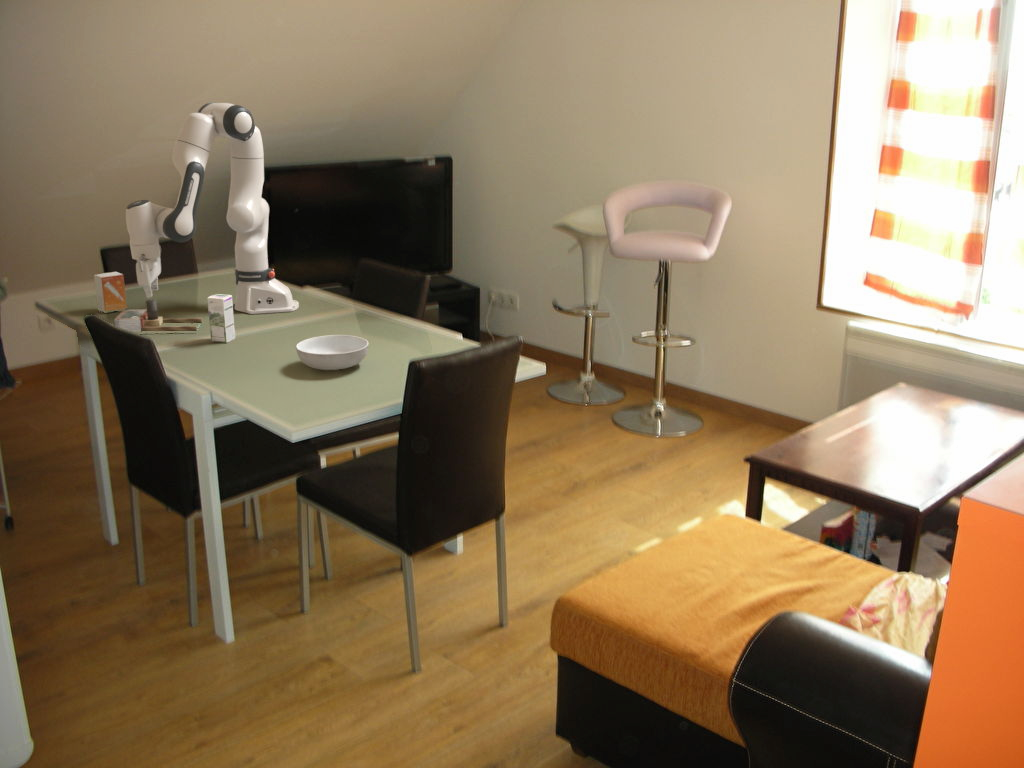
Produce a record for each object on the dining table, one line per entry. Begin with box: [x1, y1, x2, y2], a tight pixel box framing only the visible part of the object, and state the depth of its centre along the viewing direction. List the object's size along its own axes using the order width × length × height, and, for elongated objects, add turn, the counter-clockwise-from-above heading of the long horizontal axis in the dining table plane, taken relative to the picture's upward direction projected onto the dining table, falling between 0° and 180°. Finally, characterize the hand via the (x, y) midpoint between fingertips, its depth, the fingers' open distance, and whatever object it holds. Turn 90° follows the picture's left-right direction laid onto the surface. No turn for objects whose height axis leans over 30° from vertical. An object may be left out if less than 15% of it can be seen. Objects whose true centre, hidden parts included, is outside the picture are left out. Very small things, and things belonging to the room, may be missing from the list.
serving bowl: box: [295, 334, 370, 371], centre depth 306 cm, size 21×21×7 cm
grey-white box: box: [113, 308, 147, 332], centre depth 343 cm, size 8×13×5 cm, turn 7°
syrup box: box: [206, 293, 236, 344], centre depth 330 cm, size 6×6×14 cm
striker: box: [140, 299, 164, 327], centre depth 343 cm, size 6×8×9 cm
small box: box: [93, 271, 128, 311], centre depth 365 cm, size 8×6×13 cm
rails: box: [142, 317, 203, 332], centre depth 345 cm, size 18×11×2 cm, turn 97°
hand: (152, 293), depth 341 cm, fingers open, 8 cm apart
